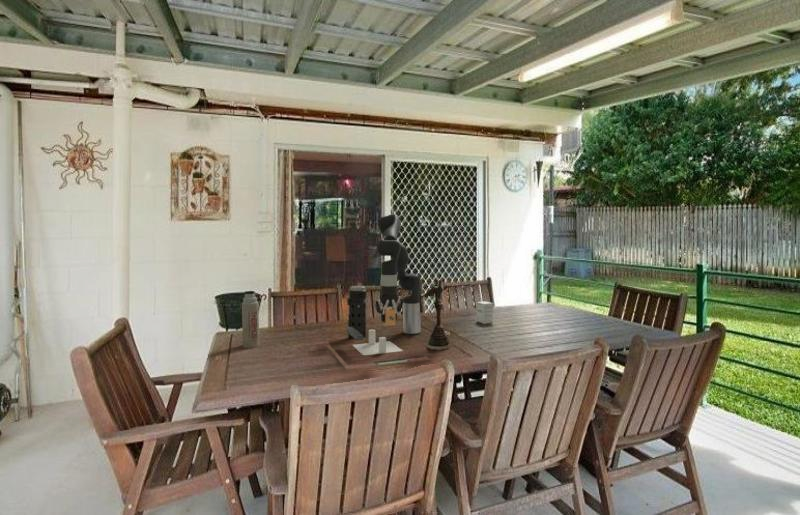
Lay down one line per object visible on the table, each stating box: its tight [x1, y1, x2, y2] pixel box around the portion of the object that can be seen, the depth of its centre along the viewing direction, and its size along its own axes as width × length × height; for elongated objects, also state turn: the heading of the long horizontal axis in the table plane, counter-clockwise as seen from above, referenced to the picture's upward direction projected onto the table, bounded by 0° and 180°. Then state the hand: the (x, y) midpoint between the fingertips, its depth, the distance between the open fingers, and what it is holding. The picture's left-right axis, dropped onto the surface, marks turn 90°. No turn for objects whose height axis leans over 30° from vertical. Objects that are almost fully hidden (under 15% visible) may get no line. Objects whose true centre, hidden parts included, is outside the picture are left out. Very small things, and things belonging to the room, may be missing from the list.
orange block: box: [382, 307, 396, 327], centre depth 207 cm, size 4×8×7 cm, turn 21°
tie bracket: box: [352, 328, 404, 356], centre depth 226 cm, size 20×19×8 cm
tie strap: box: [345, 326, 364, 341], centre depth 221 cm, size 3×19×2 cm, turn 21°
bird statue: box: [420, 279, 451, 351], centre depth 234 cm, size 17×13×35 cm
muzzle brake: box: [346, 285, 368, 340], centre depth 250 cm, size 10×28×10 cm
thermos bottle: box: [241, 290, 260, 349], centre depth 234 cm, size 8×8×28 cm
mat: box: [374, 358, 408, 367], centre depth 210 cm, size 14×10×1 cm
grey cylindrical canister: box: [476, 301, 494, 325], centre depth 288 cm, size 7×7×13 cm
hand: (388, 321), depth 209 cm, fingers closed on orange block, 4 cm apart
